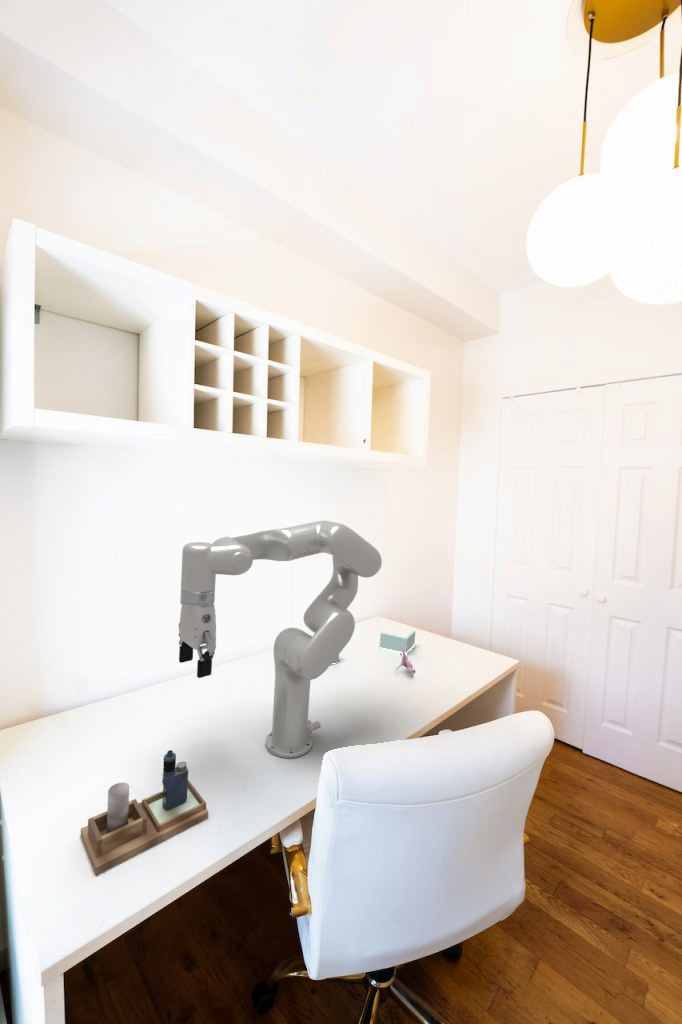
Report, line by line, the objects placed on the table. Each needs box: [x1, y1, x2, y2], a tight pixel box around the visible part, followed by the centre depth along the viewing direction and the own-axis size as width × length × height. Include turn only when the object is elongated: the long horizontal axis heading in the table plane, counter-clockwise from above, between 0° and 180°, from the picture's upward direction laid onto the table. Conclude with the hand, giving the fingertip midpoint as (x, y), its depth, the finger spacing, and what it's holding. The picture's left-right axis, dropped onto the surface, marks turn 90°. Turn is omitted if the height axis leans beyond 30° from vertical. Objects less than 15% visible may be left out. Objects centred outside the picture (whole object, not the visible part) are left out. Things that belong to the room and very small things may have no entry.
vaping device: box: [161, 749, 189, 811], centre depth 91 cm, size 3×5×12 cm, turn 132°
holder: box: [80, 779, 209, 876], centre depth 87 cm, size 21×11×10 cm, turn 133°
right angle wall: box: [379, 630, 416, 652], centre depth 191 cm, size 12×12×8 cm
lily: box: [396, 645, 414, 673], centre depth 167 cm, size 12×12×10 cm
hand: (194, 668), depth 101 cm, fingers open, 9 cm apart
